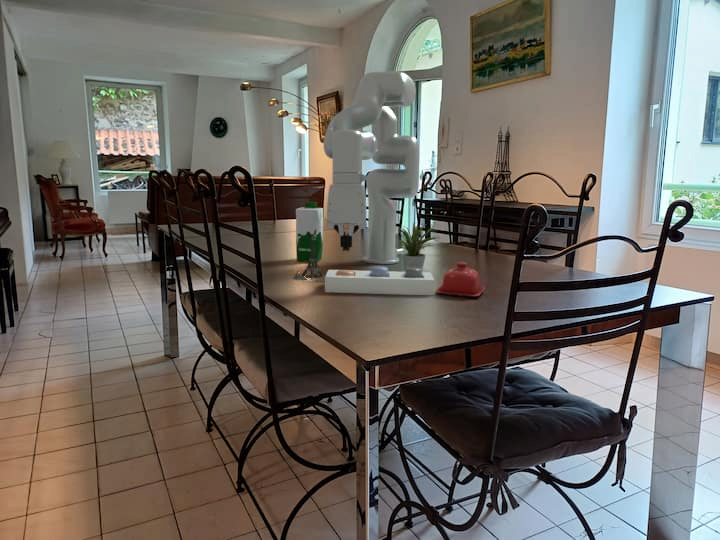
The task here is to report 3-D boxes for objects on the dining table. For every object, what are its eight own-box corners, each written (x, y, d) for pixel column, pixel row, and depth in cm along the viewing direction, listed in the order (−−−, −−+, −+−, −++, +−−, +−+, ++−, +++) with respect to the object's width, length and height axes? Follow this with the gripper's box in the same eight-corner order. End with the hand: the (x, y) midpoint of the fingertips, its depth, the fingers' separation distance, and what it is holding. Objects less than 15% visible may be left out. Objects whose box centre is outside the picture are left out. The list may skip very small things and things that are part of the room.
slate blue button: (387, 278, 140) (387, 266, 139) (387, 281, 136) (388, 269, 135) (371, 277, 140) (371, 266, 140) (371, 281, 136) (371, 269, 135)
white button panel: (429, 286, 143) (430, 272, 142) (433, 295, 133) (434, 280, 132) (328, 283, 144) (328, 269, 143) (324, 292, 134) (324, 277, 133)
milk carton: (324, 259, 183) (325, 202, 179) (318, 263, 174) (318, 203, 171) (300, 257, 185) (300, 201, 181) (293, 262, 176) (293, 202, 172)
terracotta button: (354, 281, 141) (354, 270, 140) (353, 285, 136) (353, 273, 136) (337, 281, 141) (338, 269, 140) (336, 284, 136) (336, 272, 136)
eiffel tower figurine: (296, 272, 161) (296, 229, 159) (329, 273, 161) (329, 230, 159) (291, 283, 146) (291, 236, 144) (327, 283, 147) (327, 236, 144)
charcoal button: (420, 279, 140) (421, 267, 139) (422, 282, 136) (422, 270, 135) (404, 278, 140) (405, 267, 139) (405, 282, 136) (405, 270, 135)
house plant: (412, 282, 148) (414, 225, 145) (378, 274, 158) (380, 220, 155) (444, 276, 157) (447, 222, 154) (411, 269, 167) (413, 218, 164)
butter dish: (433, 296, 134) (435, 263, 132) (443, 287, 144) (445, 256, 143) (478, 301, 130) (481, 267, 128) (485, 291, 140) (488, 260, 138)
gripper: (376, 179, 137) (374, 248, 141) (319, 178, 137) (319, 247, 141) (376, 180, 129) (374, 253, 133) (316, 179, 130) (316, 251, 134)
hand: (346, 250), depth 137 cm, fingers closed
